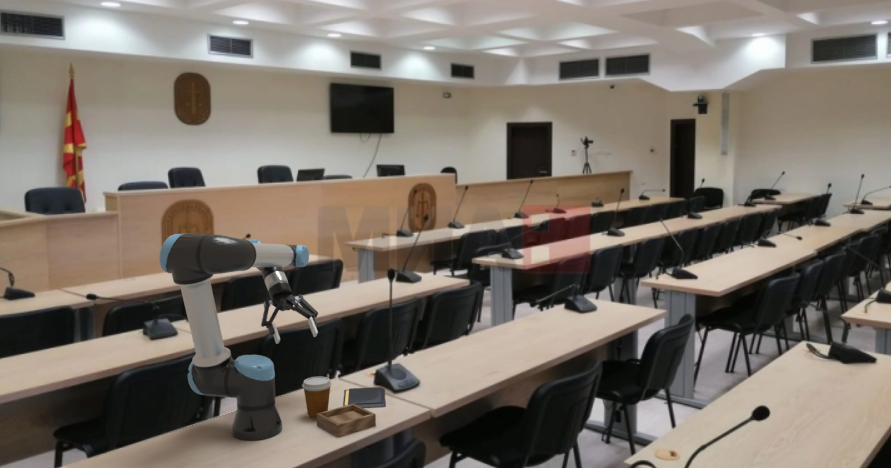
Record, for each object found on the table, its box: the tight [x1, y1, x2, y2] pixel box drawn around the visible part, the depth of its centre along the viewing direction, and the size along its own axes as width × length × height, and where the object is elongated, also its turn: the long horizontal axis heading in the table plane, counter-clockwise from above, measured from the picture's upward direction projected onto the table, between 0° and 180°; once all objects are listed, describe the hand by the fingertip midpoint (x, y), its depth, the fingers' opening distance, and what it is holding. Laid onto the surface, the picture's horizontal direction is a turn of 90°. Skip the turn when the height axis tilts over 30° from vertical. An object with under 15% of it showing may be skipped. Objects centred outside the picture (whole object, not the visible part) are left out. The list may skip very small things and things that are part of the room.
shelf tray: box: [316, 404, 377, 438], centre depth 230 cm, size 14×13×4 cm
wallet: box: [342, 386, 387, 409], centre depth 255 cm, size 20×2×15 cm
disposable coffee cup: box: [301, 376, 333, 420], centre depth 238 cm, size 10×10×12 cm
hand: (297, 338), depth 244 cm, fingers open, 13 cm apart
